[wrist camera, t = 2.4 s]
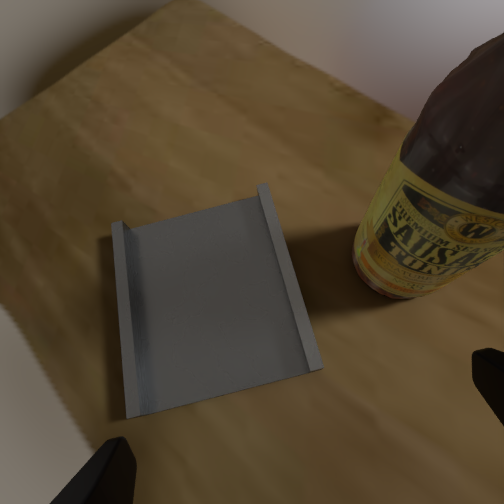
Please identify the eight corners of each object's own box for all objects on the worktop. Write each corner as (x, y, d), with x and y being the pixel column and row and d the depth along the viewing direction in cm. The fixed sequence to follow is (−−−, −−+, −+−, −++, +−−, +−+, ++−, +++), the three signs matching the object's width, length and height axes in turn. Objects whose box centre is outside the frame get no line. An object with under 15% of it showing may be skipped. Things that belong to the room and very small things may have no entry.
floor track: (321, 369, 21) (324, 367, 19) (139, 416, 21) (126, 418, 19) (268, 195, 26) (267, 182, 24) (122, 234, 26) (111, 223, 24)
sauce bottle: (339, 288, 23) (539, -134, 5) (360, 209, 25) (554, -298, 7) (443, 318, 21) (1340, -119, 3) (455, 232, 23) (1039, -333, 5)
